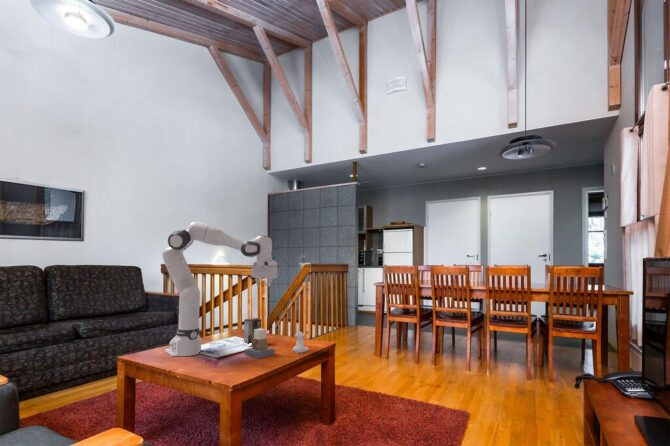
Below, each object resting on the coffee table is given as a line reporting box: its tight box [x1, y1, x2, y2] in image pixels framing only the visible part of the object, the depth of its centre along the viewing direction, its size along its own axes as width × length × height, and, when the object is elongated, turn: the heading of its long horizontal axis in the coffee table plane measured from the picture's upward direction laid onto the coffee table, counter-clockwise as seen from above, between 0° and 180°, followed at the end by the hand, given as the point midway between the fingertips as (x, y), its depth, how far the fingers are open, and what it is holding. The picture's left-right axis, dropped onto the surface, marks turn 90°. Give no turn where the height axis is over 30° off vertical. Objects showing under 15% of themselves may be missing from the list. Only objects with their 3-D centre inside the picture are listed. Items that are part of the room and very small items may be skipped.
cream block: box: [254, 327, 267, 340], centre depth 216 cm, size 5×5×5 cm
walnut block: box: [251, 337, 268, 351], centre depth 216 cm, size 6×6×6 cm
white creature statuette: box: [292, 331, 310, 354], centre depth 223 cm, size 10×9×12 cm
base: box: [244, 346, 276, 360], centre depth 215 cm, size 12×12×3 cm
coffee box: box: [243, 317, 262, 344], centre depth 237 cm, size 9×6×16 cm
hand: (263, 285), depth 222 cm, fingers open, 8 cm apart
